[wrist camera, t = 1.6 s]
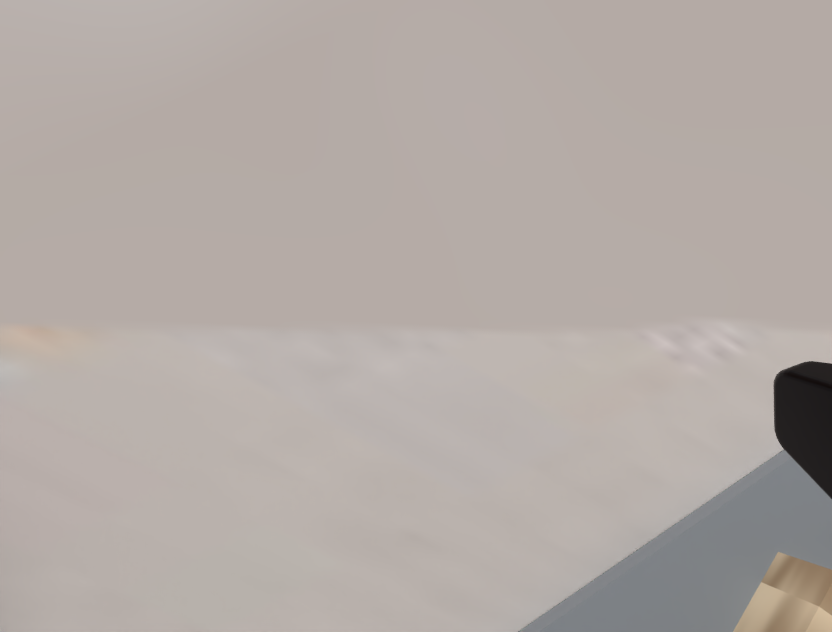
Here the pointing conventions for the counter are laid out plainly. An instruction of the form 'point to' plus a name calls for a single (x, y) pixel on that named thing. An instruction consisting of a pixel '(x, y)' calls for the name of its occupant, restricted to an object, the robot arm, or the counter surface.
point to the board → (706, 559)
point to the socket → (790, 599)
